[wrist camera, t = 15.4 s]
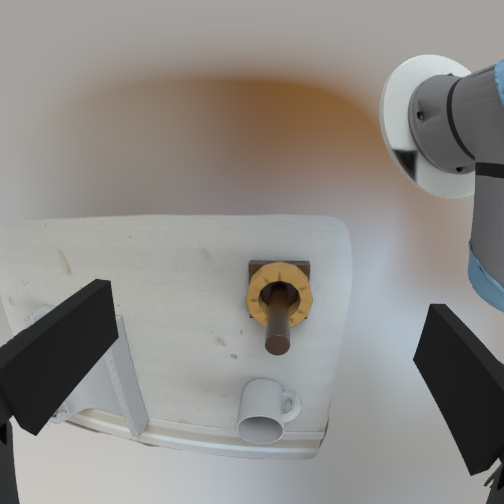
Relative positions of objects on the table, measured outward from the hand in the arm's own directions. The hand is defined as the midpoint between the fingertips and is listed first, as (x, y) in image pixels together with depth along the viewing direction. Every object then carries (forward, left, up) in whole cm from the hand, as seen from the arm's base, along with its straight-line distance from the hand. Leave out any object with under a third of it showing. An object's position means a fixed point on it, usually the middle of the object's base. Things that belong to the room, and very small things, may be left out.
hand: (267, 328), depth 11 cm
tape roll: (-8, +7, -28) cm, 30 cm away
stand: (-8, +7, -29) cm, 31 cm away
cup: (-21, +21, -30) cm, 42 cm away
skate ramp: (+5, +46, -30) cm, 55 cm away
